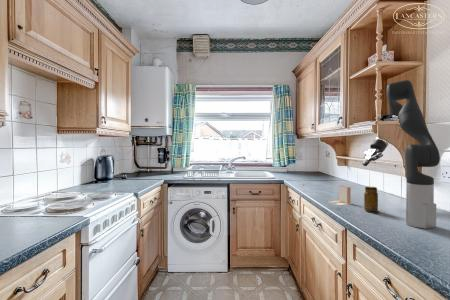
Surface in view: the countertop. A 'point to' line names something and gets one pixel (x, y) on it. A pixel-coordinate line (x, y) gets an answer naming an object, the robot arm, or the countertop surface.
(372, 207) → the condiment
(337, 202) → the board
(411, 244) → the countertop surface
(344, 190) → the tile
